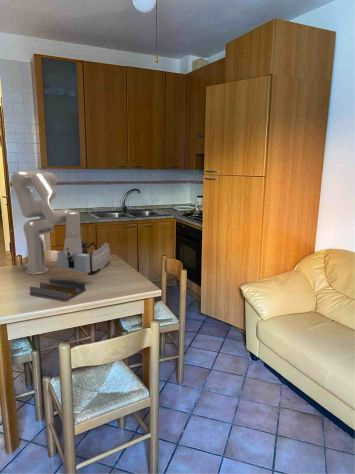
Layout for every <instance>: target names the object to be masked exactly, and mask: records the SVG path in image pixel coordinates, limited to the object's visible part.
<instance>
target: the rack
mask: <svg viewBox="0 0 355 474" xmlns="http://www.w3.org/2000/svg"><path fill="white" fill-rule="evenodd" d="M48 280H49V281H48V282H43V281H40V282H39V287H38V286H37V287H35V286H33V285H32V286H29V296H33V297H37V298H44V299H50V300H54V301H61V302H65V303H67V302H69V300H71V299H74V298H75V297H77V296H78V295H81V294H83V293H84V292H86V291H87V288H86V283H84V282H78V281H72V280H64V279H60V278H52V277H50V278H48Z"/></svg>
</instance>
